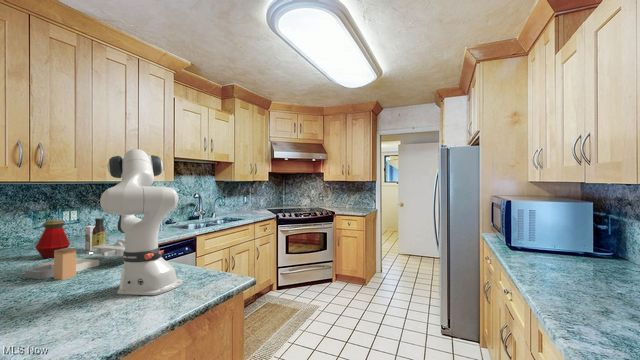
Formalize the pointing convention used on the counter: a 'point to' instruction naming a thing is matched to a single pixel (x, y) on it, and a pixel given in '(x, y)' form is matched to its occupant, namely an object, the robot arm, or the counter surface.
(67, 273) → the tan upright wooden block
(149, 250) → the robot arm
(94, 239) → the sauce bottle
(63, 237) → the red faceted jar
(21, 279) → the counter surface
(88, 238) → the syrup box
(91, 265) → the white slab
